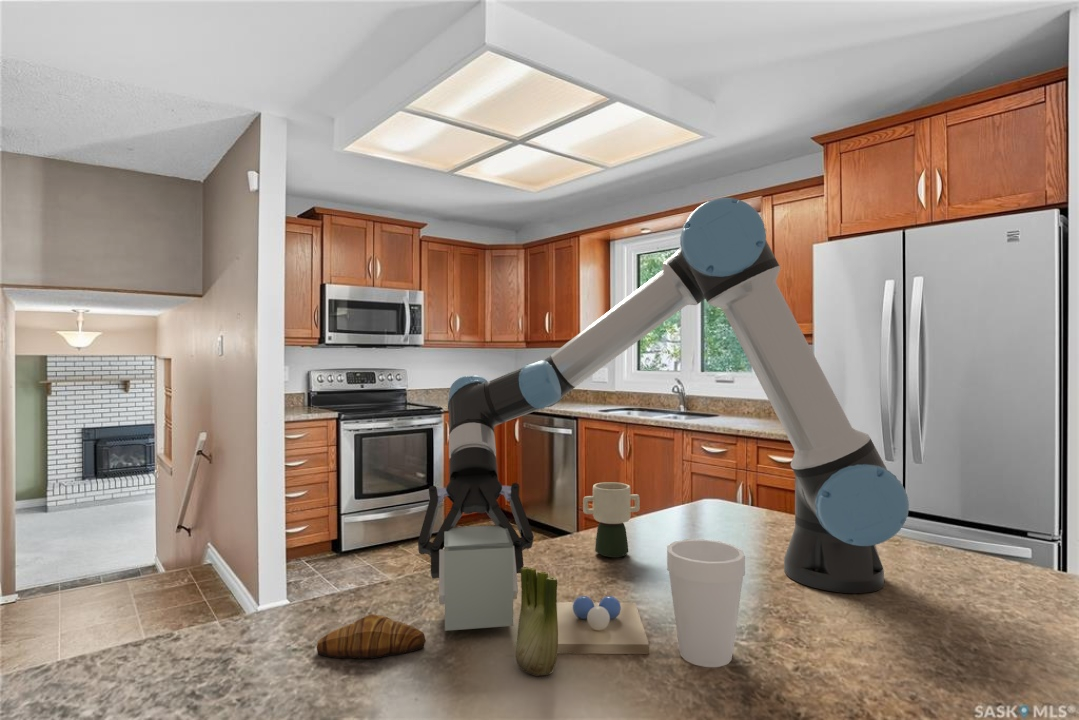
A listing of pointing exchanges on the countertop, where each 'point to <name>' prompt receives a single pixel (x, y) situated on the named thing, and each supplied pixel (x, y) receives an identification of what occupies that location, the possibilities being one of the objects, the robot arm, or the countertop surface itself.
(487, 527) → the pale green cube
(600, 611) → the marble white
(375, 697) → the countertop surface
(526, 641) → the fennel bulb
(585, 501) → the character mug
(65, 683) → the countertop surface
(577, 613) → the blue marble
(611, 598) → the blue marble
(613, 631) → the board
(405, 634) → the croissant
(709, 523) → the countertop surface
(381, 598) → the countertop surface
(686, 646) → the foam cup
